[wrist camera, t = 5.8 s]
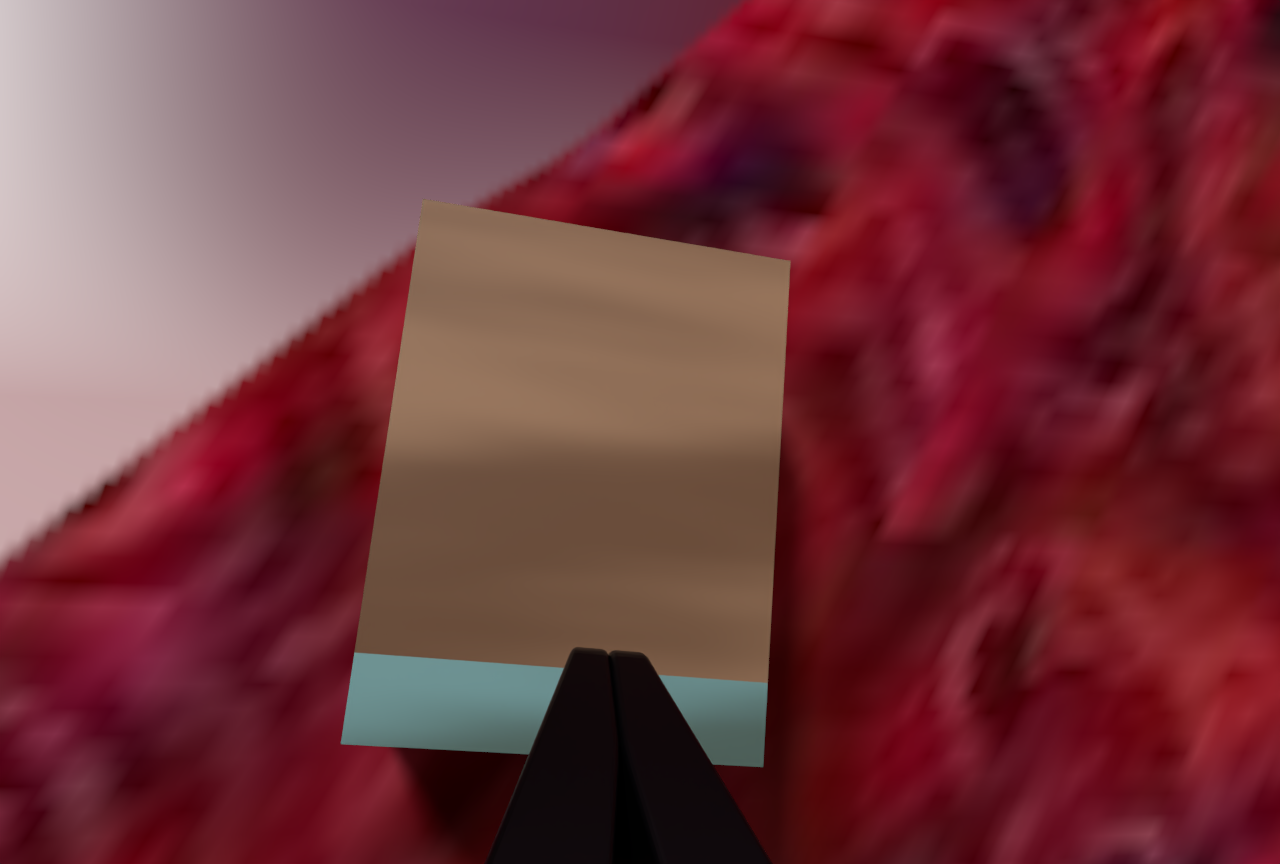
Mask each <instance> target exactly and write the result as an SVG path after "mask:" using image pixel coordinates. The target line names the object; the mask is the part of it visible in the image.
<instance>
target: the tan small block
mask: <svg viewBox="0 0 1280 864" xmlns="http://www.w3.org/2000/svg"><path fill="white" fill-rule="evenodd" d="M789 277H790V261H787V260H781V259H775V258H769V257H763V256H757V255H751V254H746V253H740V252H734V251H728V250H722V249H716V248H710V247H704V246H698V245H692V244H686V243H681V242H675V241H669V240H663V239H657V238H651V237H645V236H639V235H633V234H627V233H621V232H616V231H610V230H604V229H598V228H592V227H586V226H580V225H574V224H568V223H562V222H556V221H551V220H545V219H539V218H533V217H527V216H521V215H515V214H509V213H503V212H497V211H491V210H486V209H480V208H474V207H468V206H462V205H456V204H450V203H444V202H438V201H432V200H426V199H423V202H422V209H421V216H420V222H419V229H418V235H417V242H416V249H415V255H414V262H413V268H412V275H411V282H410V288H409V295H408V302H407V308H406V315H405V322H404V328H403V335H402V341H401V348H400V355H399V361H398V368H397V375H396V381H395V388H394V394H393V401H392V408H391V414H390V421H389V428H388V434H387V441H386V448H385V454H384V461H383V467H382V474H381V481H380V487H379V494H378V501H377V507H376V514H375V520H374V527H373V534H372V540H371V547H370V554H369V560H368V567H367V574H366V580H365V587H364V593H363V600H362V607H361V613H360V620H359V627H358V633H357V640H356V646H355V653H354V660H353V666H352V673H351V680H350V686H349V693H348V700H347V706H346V713H345V719H344V726H343V733H342V739H341V744H348V745H366V746H385V747H403V748H421V749H439V750H458V751H476V752H494V753H513V754H529V753H530V750H531V748H532V745H533V743H534V740H535V738H536V735H537V733H538V730H539V728H540V725H541V723H542V721H543V718H544V716H545V713H546V711H547V708H548V706H549V703H550V701H551V698H552V696H553V694H554V691H555V689H556V686H557V684H558V681H559V679H560V676H561V674H562V671H563V669H564V666H565V664H566V662H567V659H568V657H569V654H570V652H571V650H572V649H573V648H575V647H584V648H596V649H603V650H605V651H607V653H608V654H609V653H610V652H611V651H613V650H621V651H633V652H641V653H643V654H645V655H646V656H647V657H648V659H649V660H650V662H651V664H652V665H653V667H654V669H655V670H656V672H657V673H658V675H659V677H660V678H661V680H662V682H663V683H664V685H665V687H666V688H667V690H668V692H669V693H670V695H671V697H672V698H673V700H674V702H675V703H676V705H677V706H678V708H679V710H680V711H681V713H682V715H683V716H684V718H685V720H686V721H687V723H688V725H689V726H690V728H691V730H692V731H693V733H694V735H695V736H696V738H697V739H698V741H699V743H700V744H701V746H702V748H703V749H704V751H705V753H706V754H707V756H708V758H709V759H710V761H711V763H712V764H714V765H733V766H751V767H763V763H764V744H765V726H766V707H767V688H768V669H769V651H770V632H771V613H772V595H773V576H774V557H775V539H776V520H777V501H778V483H779V464H780V445H781V426H782V408H783V389H784V370H785V352H786V333H787V314H788V296H789Z"/></svg>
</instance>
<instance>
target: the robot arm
mask: <svg viewBox="0 0 1280 864" xmlns="http://www.w3.org/2000/svg"><path fill="white" fill-rule="evenodd" d="M484 864H773V863H772V862H771V860H770V858H769V857H768V855H767V853H766V852H765V850H764V848H763V847H762V845H761V843H760V842H759V840H758V839H757V837H756V835H755V834H754V832H753V830H752V829H751V827H750V825H749V824H748V822H747V820H746V819H745V817H744V815H743V814H742V812H741V810H740V809H739V807H738V806H737V804H736V802H735V801H734V799H733V797H732V796H731V794H730V792H729V791H728V789H727V787H726V786H725V784H724V782H723V781H722V779H721V777H720V776H719V774H718V773H717V771H716V769H715V768H714V766H713V764H712V763H711V761H710V759H709V758H708V756H707V754H706V753H705V751H704V749H703V748H702V746H701V744H700V743H699V741H698V739H697V738H696V736H695V735H694V733H693V731H692V730H691V728H690V726H689V725H688V723H687V721H686V720H685V718H684V716H683V715H682V713H681V711H680V710H679V708H678V706H677V705H676V703H675V702H674V700H673V698H672V697H671V695H670V693H669V692H668V690H667V688H666V687H665V685H664V683H663V682H662V680H661V678H660V677H659V675H658V673H657V672H656V670H655V669H654V667H653V665H652V664H651V662H650V660H649V659H648V657H647V656H646V655H645V654H643V653H641V652H633V651H621V650H613V651H611V652H610V653H609V654H608V653H607V651H605V650H603V649H596V648H584V647H575V648H573V649H572V650H571V652H570V654H569V657H568V659H567V662H566V664H565V666H564V669H563V671H562V674H561V676H560V679H559V681H558V684H557V686H556V689H555V691H554V694H553V696H552V698H551V701H550V703H549V706H548V708H547V711H546V713H545V716H544V718H543V721H542V723H541V725H540V728H539V730H538V733H537V735H536V738H535V740H534V743H533V745H532V748H531V750H530V753H529V755H528V757H527V760H526V762H525V765H524V767H523V770H522V772H521V775H520V777H519V780H518V782H517V785H516V787H515V789H514V792H513V794H512V797H511V799H510V802H509V804H508V807H507V809H506V812H505V814H504V816H503V819H502V821H501V824H500V826H499V829H498V831H497V834H496V836H495V839H494V841H493V844H492V846H491V848H490V851H489V853H488V856H487V858H486V861H485V863H484Z"/></svg>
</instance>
